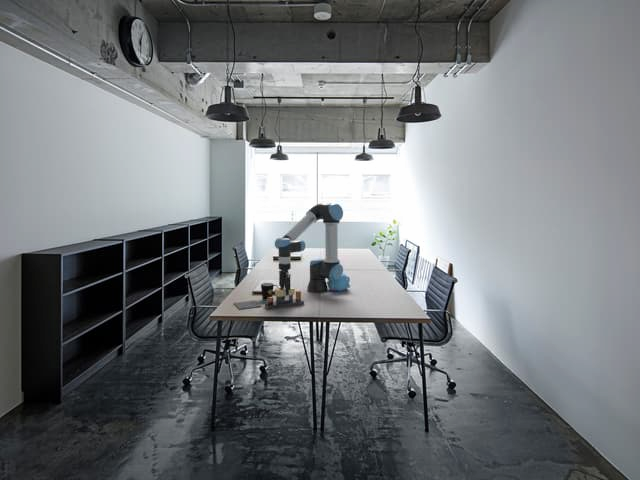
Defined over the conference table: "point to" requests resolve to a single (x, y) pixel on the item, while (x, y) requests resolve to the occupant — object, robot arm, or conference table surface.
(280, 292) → the tan rectangular brick
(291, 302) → the hand plane
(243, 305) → the rubber mat
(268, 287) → the coffee mug
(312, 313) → the conference table surface
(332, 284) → the decorative pot
